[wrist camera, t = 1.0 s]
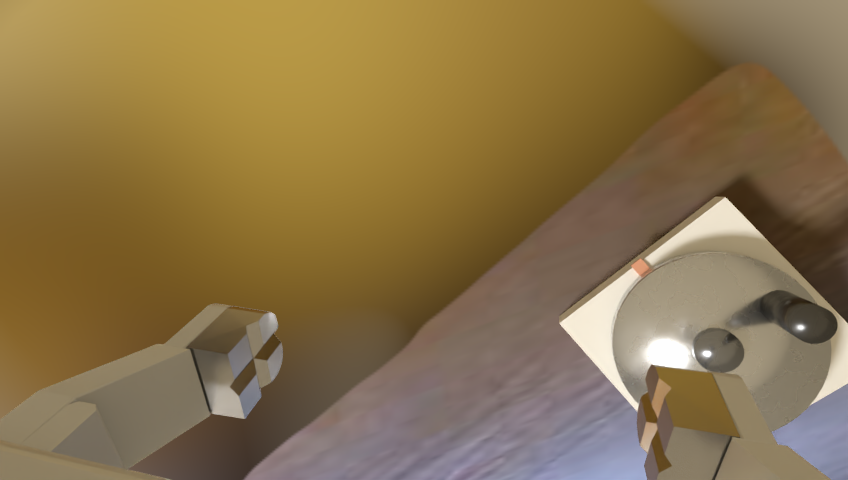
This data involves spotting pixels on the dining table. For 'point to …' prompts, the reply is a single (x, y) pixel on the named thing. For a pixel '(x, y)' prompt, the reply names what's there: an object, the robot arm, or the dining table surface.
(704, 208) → the wheel base
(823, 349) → the handwheel
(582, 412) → the dining table surface
